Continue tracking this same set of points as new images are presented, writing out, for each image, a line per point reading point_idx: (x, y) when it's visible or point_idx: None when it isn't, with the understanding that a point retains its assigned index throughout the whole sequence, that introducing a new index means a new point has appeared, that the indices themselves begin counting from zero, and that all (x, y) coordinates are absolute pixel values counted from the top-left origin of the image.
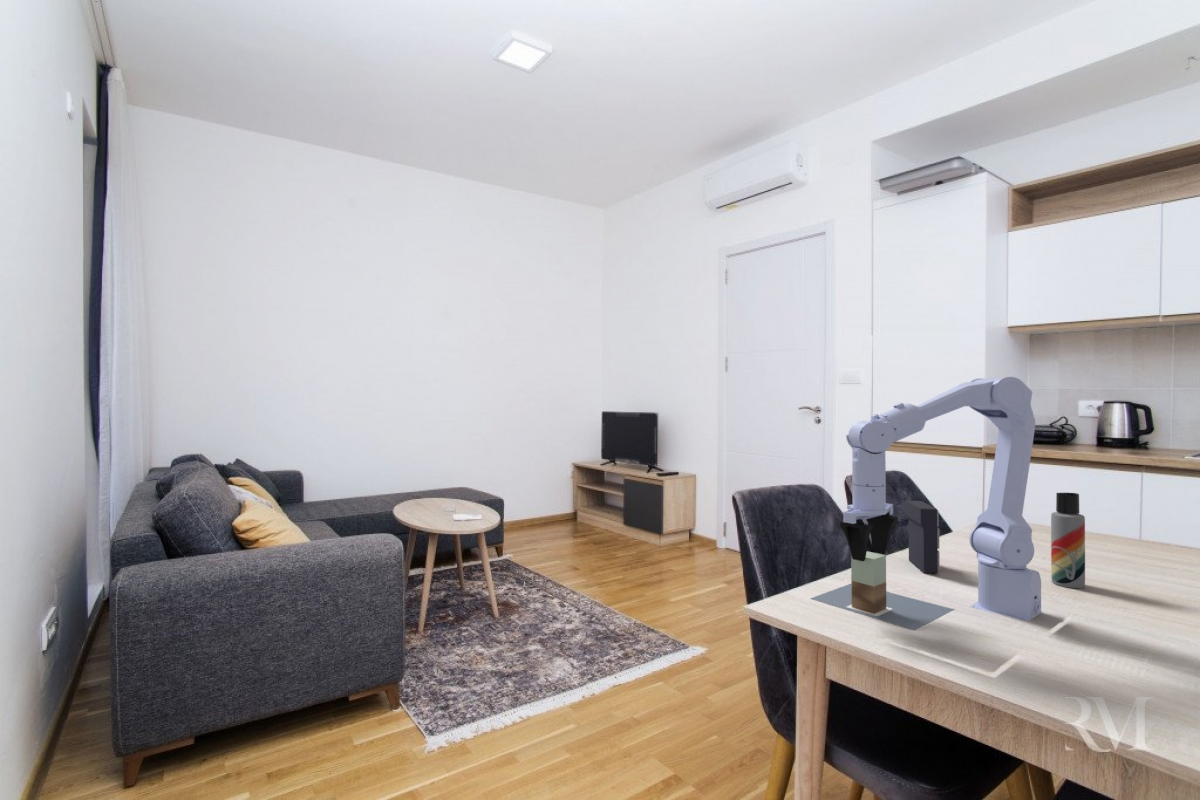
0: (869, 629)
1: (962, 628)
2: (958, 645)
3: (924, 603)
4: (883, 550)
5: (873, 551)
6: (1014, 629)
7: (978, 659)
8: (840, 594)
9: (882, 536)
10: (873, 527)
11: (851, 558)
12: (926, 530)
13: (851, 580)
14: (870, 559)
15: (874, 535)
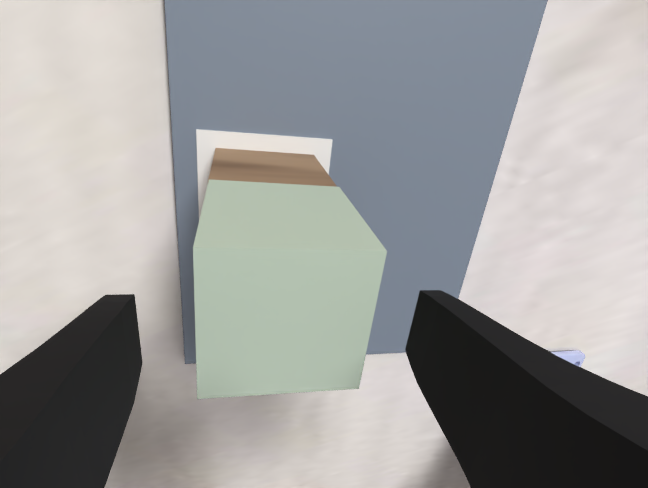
0: (92, 271)
1: (330, 396)
2: (204, 433)
3: (444, 288)
4: (416, 367)
5: (424, 293)
6: (404, 444)
7: (157, 478)
8: (344, 26)
9: (475, 446)
10: (554, 451)
11: (197, 232)
12: None
13: (209, 180)
14: (197, 375)
15: (497, 385)
